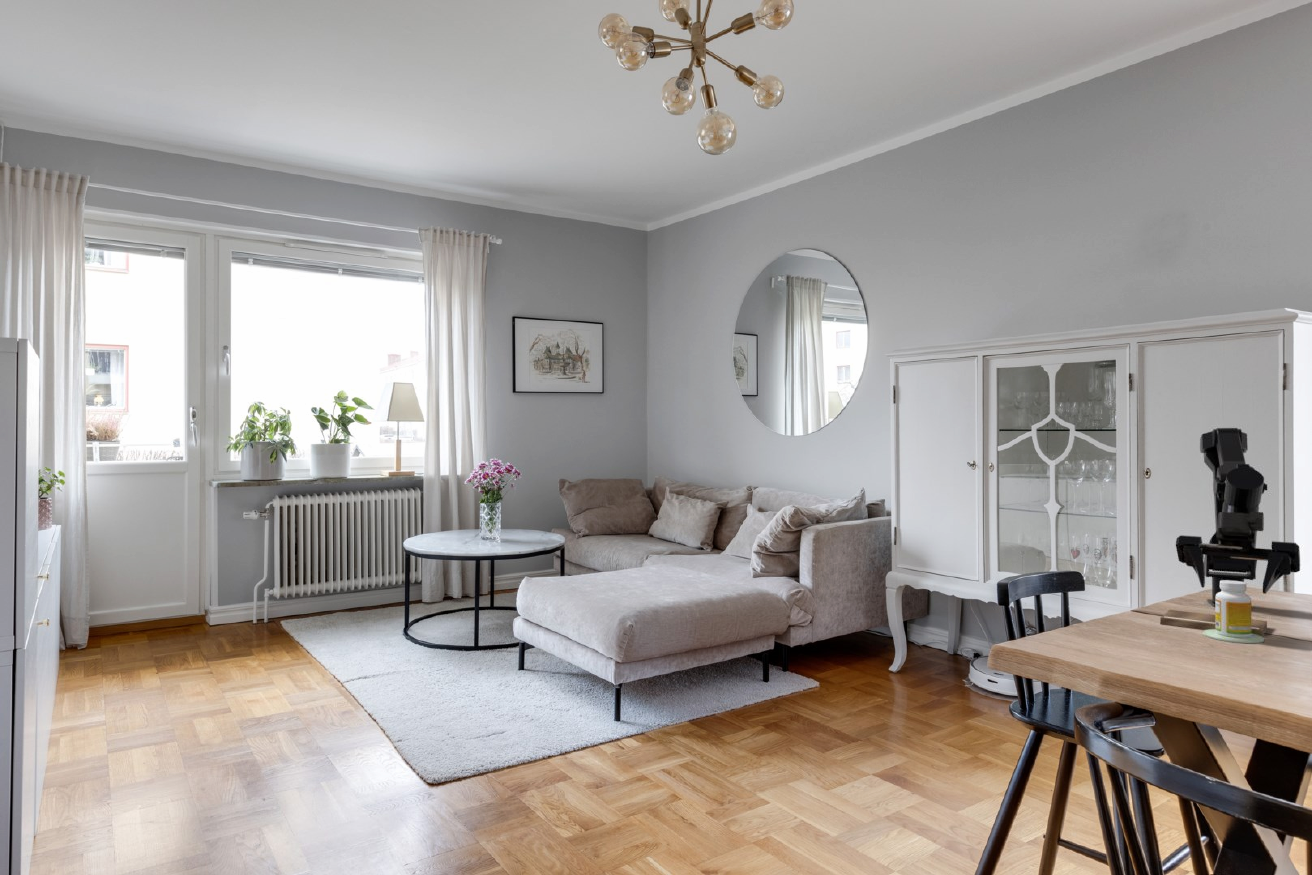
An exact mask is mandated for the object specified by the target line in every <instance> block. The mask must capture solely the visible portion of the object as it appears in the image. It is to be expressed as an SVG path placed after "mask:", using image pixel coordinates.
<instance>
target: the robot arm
mask: <svg viewBox="0 0 1312 875" xmlns="http://www.w3.org/2000/svg"><path fill="white" fill-rule="evenodd" d="M1199 451H1200V453H1201V454H1203V462H1204V464H1205V465H1206V466H1207V468H1209V469H1210V471H1211V472H1212V479H1213V480H1212V481H1213V482H1212V490H1213V500H1214V503H1213V504H1214V519H1215V521H1214V522H1215V532H1214V534H1212V536H1211V538H1210V539H1209V541H1208V543H1203V539H1202V536H1199V535H1198V536H1197V535H1184V534H1183V535H1179V536H1177V537H1176V540H1175V548H1176V553H1177V559H1178V561H1179V562H1180V563H1182V564H1185V565H1186V566H1187V567H1190V568H1193V570H1194V572H1195V574H1196V575H1197V578H1198V581H1199V584H1200V586H1201V588H1205V586H1206V578H1211V595H1212V596H1211V597H1212V598H1208V599H1206V602H1207V603H1209V605H1212V606H1213V607H1215V596H1216V594H1217V593H1218V592H1221V589H1220V581H1221V580H1232V581H1241V582H1245V580H1250V581H1254V580H1256V577H1257V576H1256V575H1257V574H1256V572H1257V565H1258V564H1257V563H1258V561H1266V562H1267V563H1266V564H1267V565H1266V568H1265V572H1264V577H1263V582H1262V594H1265V595H1266V594H1267V593H1268V592H1269V590H1270V589H1271V588H1272V587H1273V585H1274V584H1275V583H1276V582H1277V581H1278V580H1280V578H1282V577H1283V576H1285V575H1286V576H1289V575H1291V573H1298V572H1300V571H1301V553H1300V546H1299V544H1298V543H1296V542H1291V541H1290V542H1288V541H1276V540H1272V541H1271V546H1270V547H1271V548H1259V547H1258V548H1257V547H1256V546H1257V536H1258V532H1263V531H1265V530H1264V527H1265V525H1264V524H1265V519H1264V518H1265V517H1264V512H1262V511H1259V510H1260V506H1259V505H1260V504H1261V500H1262V495H1263V494H1265V491H1268V484H1267V483H1265V477H1264V475H1263V474H1262V473H1261V472H1260V471H1258V470H1256V469H1255V468H1254V467H1253V466H1251V465H1250V464H1249V463H1248V464H1247V463H1246V458H1245V455H1244V454H1246V453H1247V452H1248V433H1246V432H1243V431H1242V429H1241V428H1238V427H1217V428H1214V429H1213V430H1211V431H1208V432H1205V433H1202V434H1201V436H1200V438H1199ZM1211 570H1212V571H1211Z"/></svg>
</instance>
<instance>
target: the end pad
mask: <svg viewBox="0 0 1312 875" xmlns="http://www.w3.org/2000/svg"><path fill="white" fill-rule="evenodd" d="M1203 635H1204V636H1205V637H1207V638H1209V639H1213V640H1217V641H1221V642H1229V643H1235V644H1237V643H1238V644H1260V643H1263V642H1265V638H1264V637H1263V636H1259V635H1256V634H1252V635H1251V636H1250V637H1248V638H1237V637H1229V636H1223V635H1220V634H1218V633H1216V629H1210V630H1203Z"/></svg>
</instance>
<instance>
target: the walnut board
mask: <svg viewBox="0 0 1312 875" xmlns="http://www.w3.org/2000/svg"><path fill="white" fill-rule="evenodd" d="M1159 620H1160V625H1166V626H1174V627H1180V628H1189V629H1197V630H1202V631H1205V630H1210V629H1216V624H1215V614H1211V613H1210V614H1209V613H1208V614H1207V613H1200V612H1192V611H1183V610H1175V609H1168V610H1167V611H1166V613H1164V614H1163V615H1162V616H1161V617H1160V618H1159ZM1251 625H1252V634H1256V635H1259V636H1262V637H1263V636H1264V634H1265V633H1266V630H1267V629H1268V621H1267V620H1261V619H1260V620H1259V619H1253V618H1251Z"/></svg>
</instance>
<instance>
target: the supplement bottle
mask: <svg viewBox="0 0 1312 875" xmlns="http://www.w3.org/2000/svg"><path fill="white" fill-rule="evenodd" d="M1220 589H1221V592H1218V593H1217V594H1216V596H1215V606H1214V607H1215V608H1214V609H1215V610H1214V611H1215V614H1214V615H1215V624H1216V633H1218V634H1220V635H1223V636H1229V637H1237V638H1248V637H1250V636H1251V635H1252V625H1251V619H1252V597H1251V596H1250V595H1248V594H1247V593H1246V591H1247V589H1248V588H1247V583H1246V582H1245V581H1244V582H1241V581H1232V580H1221V581H1220Z"/></svg>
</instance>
